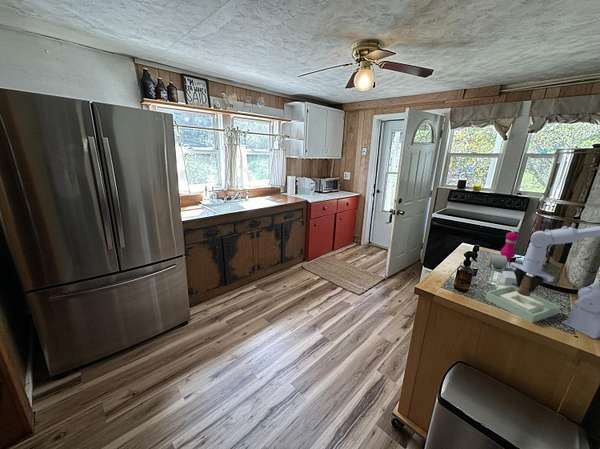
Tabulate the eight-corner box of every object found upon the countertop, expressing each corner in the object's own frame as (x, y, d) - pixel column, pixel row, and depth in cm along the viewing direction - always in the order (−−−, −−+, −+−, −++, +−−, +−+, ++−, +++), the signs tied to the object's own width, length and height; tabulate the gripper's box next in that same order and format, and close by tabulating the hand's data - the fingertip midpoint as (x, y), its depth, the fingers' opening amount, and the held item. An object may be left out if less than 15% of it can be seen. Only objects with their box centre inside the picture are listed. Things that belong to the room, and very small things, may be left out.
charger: (519, 277, 136) (527, 290, 123) (498, 273, 140) (503, 285, 128) (521, 269, 134) (529, 281, 122) (500, 265, 139) (506, 276, 126)
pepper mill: (502, 261, 155) (511, 231, 150) (496, 257, 162) (503, 228, 156) (515, 262, 154) (524, 232, 148) (508, 258, 161) (516, 228, 155)
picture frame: (557, 314, 104) (560, 306, 103) (531, 324, 98) (534, 315, 97) (510, 292, 120) (512, 285, 119) (484, 299, 114) (486, 291, 113)
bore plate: (542, 310, 106) (545, 304, 105) (526, 315, 102) (528, 309, 101) (513, 296, 116) (515, 291, 115) (498, 301, 112) (499, 295, 111)
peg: (531, 295, 106) (537, 278, 104) (526, 297, 105) (532, 280, 103) (520, 290, 110) (526, 274, 108) (515, 292, 108) (521, 275, 106)
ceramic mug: (485, 263, 153) (488, 251, 150) (502, 266, 149) (505, 254, 147) (489, 270, 143) (493, 258, 141) (507, 273, 140) (510, 261, 138)
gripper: (562, 265, 98) (551, 296, 101) (520, 252, 111) (512, 279, 114) (551, 268, 95) (541, 299, 99) (509, 253, 108) (502, 281, 112)
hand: (525, 288), depth 107 cm, fingers closed on peg, 4 cm apart
